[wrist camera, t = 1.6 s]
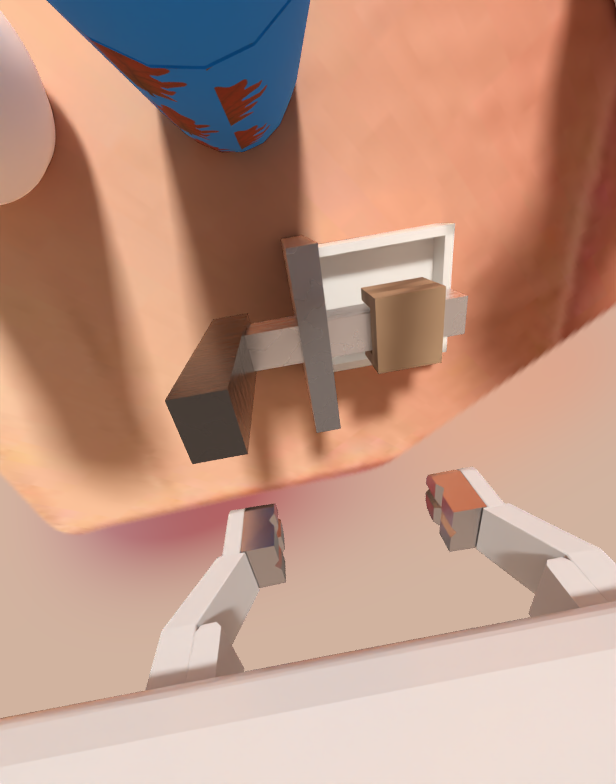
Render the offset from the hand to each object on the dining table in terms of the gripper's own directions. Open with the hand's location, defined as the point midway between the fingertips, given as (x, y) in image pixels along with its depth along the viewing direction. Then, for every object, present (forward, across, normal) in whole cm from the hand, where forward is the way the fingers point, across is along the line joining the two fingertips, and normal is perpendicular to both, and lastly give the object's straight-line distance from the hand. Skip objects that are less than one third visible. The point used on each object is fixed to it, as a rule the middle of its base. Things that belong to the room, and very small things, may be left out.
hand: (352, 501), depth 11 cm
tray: (+25, -8, 0) cm, 26 cm away
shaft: (+20, -3, 0) cm, 20 cm away
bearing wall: (+25, 0, 0) cm, 25 cm away
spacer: (+18, -8, 0) cm, 20 cm away
